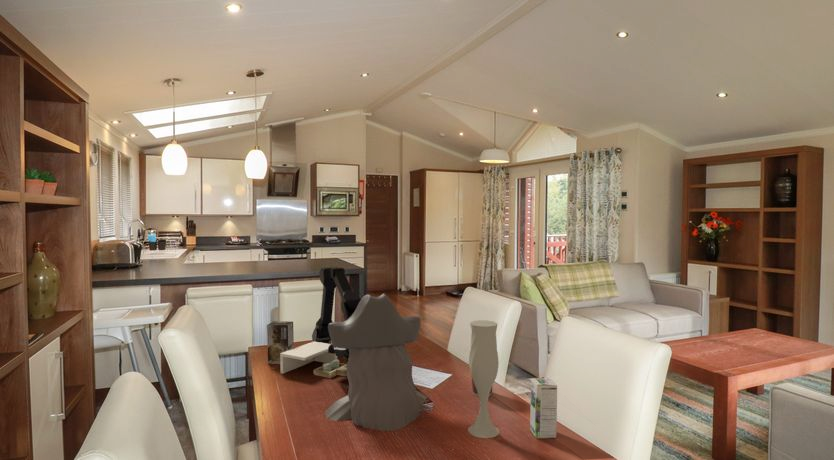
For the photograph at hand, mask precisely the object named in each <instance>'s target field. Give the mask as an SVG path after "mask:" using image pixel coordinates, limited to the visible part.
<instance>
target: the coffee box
mask: <svg viewBox="0 0 834 460" xmlns="http://www.w3.org/2000/svg"><path fill="white" fill-rule="evenodd" d="M266 336H267V337H266V338H267V339H266V341H267V345H266V346H267V364H270V365H280V353H283V352H285V351H288V350H291V349H294V348H295V347H294V346H295V345H294V343H295V342H294V340H295V339H294V321H281V320H280V321H275V320H273V321H271V322H270V323H268V324H266Z"/></svg>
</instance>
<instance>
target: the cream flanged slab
mask: <svg viewBox="0 0 834 460" xmlns="http://www.w3.org/2000/svg"><path fill="white" fill-rule="evenodd" d="M331 344H332V343H331ZM331 344H327V343H321V342H314V341H311V342H309V343H305V344H302V345H299V346H296V347H294V349H291V350H288V351H285V352H283V353H280V364H279V365H280V374H285V373H288V372H290V371H291V372H292V371H293V370H296V369H297V368H300V367H303V366H306V365H307V364H309V363H313V362H319V363H323V364H324V363H330V362H331V360H335V359H337V360H338V356H336V354H332V353H328V347H329V346H330V345H331Z"/></svg>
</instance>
